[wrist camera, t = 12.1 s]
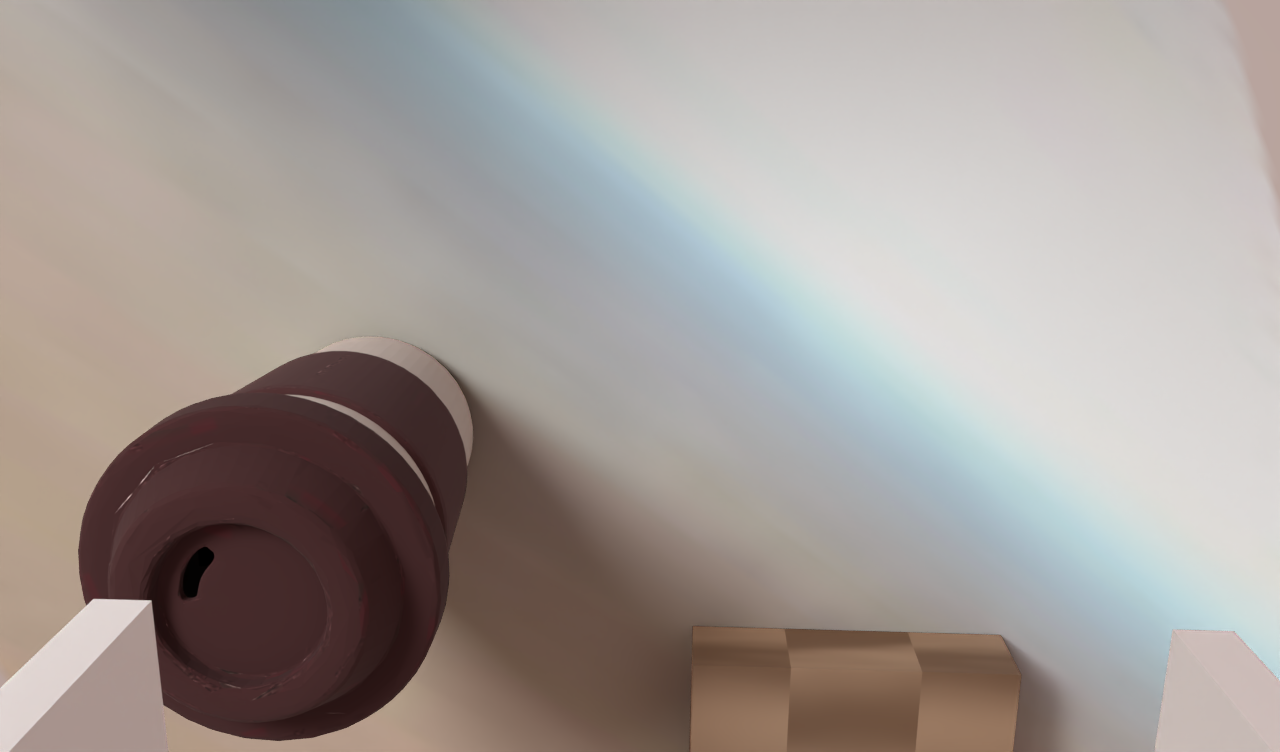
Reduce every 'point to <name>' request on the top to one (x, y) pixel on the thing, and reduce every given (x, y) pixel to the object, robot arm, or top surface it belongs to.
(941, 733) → the hole block
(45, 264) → the top surface
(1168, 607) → the top surface
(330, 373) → the coffee cup
